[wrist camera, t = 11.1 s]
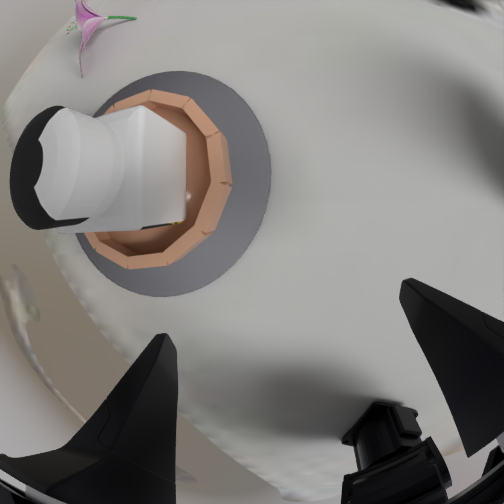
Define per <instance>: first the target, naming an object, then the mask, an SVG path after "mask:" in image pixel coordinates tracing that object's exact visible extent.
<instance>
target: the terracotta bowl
mask: <svg viewBox="0 0 504 504" xmlns="http://www.w3.org/2000/svg"><path fill="white" fill-rule="evenodd" d="M138 105H143V106H145V107H146V108H148V109H150V110H151V111H153V112H154V113H156V114H157V115H159V116H161V117H162V118H164V119H165V120H167V121H168V122H170V123H171V124H173V125H174V126H176V127H177V128H179V129H180V130H182V131H183V132H185V133H186V136H187V137H186V216H187V218H186V221H185V222H184V223H181V224H175V225H168V226H162V227H155V228H149V229H143V230H135V231H107V232H84V234H85V235H86V237H87V239H88V241H89V242H90V244H91V246H92V247H93V249H96V252H98V253H99V254H101V255H103V256H104V257H106V258H108V259H110V260H111V261H113V262H115V263H117V264H118V265H120V266H122V267H124V268H125V269H127V268H128V269H139V268H149V267H159V266H167V265H170V264H172V263H174V262H176V261H178V260H180V259H182V258H183V257H184V256H185V255H186V254H188V253H189V252H190V251H191V250H192V249H194V248H195V247H196V246H197V245H199V244H200V243H201V242H202V241H204V240H205V239H206V238H207V237H209V236H210V235H211V234H212V233H213V232H212V231H214V230H215V229H216V226H217V224H218V221H219V219H220V216H221V214H222V211H223V209H224V206H225V204H226V201H227V199H228V196H229V194H230V191H231V189H232V187H230V185H231V184H233V183H232V175H231V167H230V159H229V151H228V143H227V140H226V137H225V136H224V135H223V133H222V132H221V131H220V130H219V129H218V127H217V126H216V125H215V124H214V123H213V121H212V120H211V119H210V118H209V117H208V116H207V114H206V113H205V112H204V111H203V110H202V109H201V107H200V106H199V105H198V104H197V103H196V102H195V101H194V100H193V99H192V98H190V97H188V96H183V95H179V94H174V93H169V92H164V91H159V90H154V89H152V91H151V90H147V91H144V92H142V93H139V94H136V95H134V96H131V97H129V98H126V99H124V100H121V101H119V102H117V103H115V106H114V105H112V106H111V107H110V108H109V109H108V110H107V111H106V112H105V113H104V114H103V115H106V114H109V113H113V112H116V111H119V110H123V109H127V108H130V107H134V106H138ZM103 115H102V116H103Z"/></svg>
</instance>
